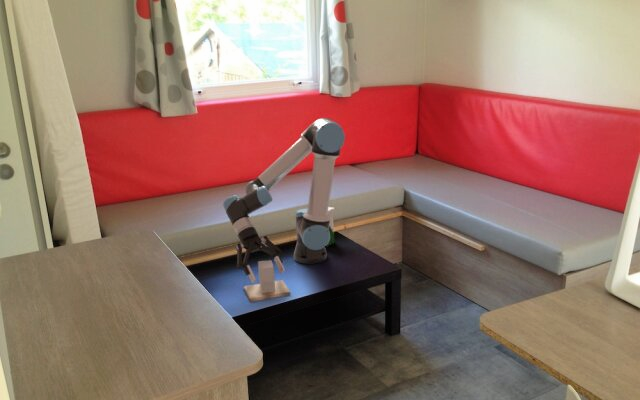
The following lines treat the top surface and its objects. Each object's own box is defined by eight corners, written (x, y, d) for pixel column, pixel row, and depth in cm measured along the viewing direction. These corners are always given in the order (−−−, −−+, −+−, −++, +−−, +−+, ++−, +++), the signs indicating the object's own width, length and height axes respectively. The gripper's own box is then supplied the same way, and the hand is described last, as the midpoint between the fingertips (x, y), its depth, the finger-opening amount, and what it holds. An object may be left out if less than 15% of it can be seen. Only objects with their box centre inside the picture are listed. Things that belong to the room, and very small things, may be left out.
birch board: (282, 282, 227) (282, 279, 226) (290, 294, 216) (290, 291, 215) (244, 289, 222) (243, 286, 222) (250, 301, 211) (250, 298, 211)
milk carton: (312, 245, 267) (310, 205, 261) (322, 239, 274) (321, 201, 268) (327, 248, 262) (326, 208, 256) (337, 242, 269) (336, 203, 264)
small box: (275, 292, 215) (273, 267, 212) (261, 293, 215) (259, 268, 212) (273, 283, 223) (271, 259, 220) (259, 285, 222) (257, 261, 219)
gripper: (268, 228, 232) (290, 271, 225) (215, 243, 218) (238, 289, 210) (274, 219, 227) (298, 263, 220) (221, 233, 212) (244, 281, 205)
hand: (268, 276), depth 215 cm, fingers open, 13 cm apart
